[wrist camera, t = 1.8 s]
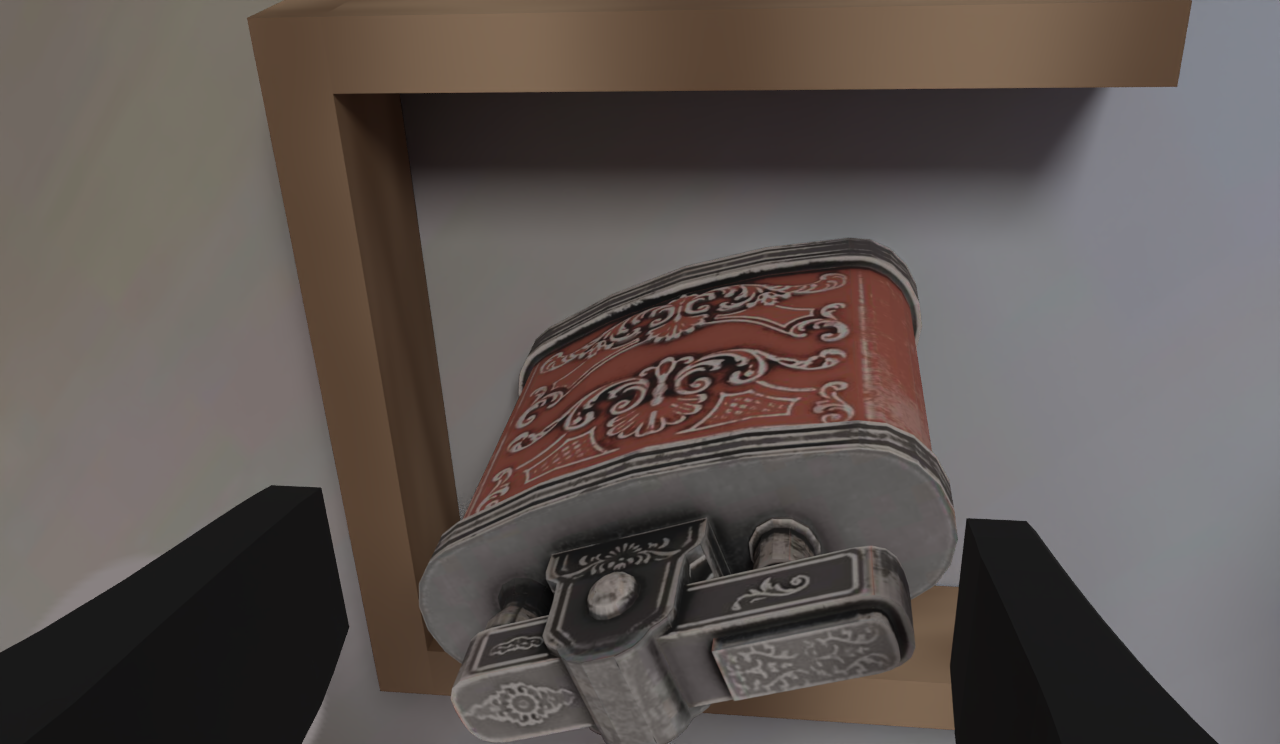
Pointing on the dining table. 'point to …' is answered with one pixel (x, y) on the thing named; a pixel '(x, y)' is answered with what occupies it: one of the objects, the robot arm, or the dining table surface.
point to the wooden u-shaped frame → (587, 62)
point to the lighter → (699, 501)
